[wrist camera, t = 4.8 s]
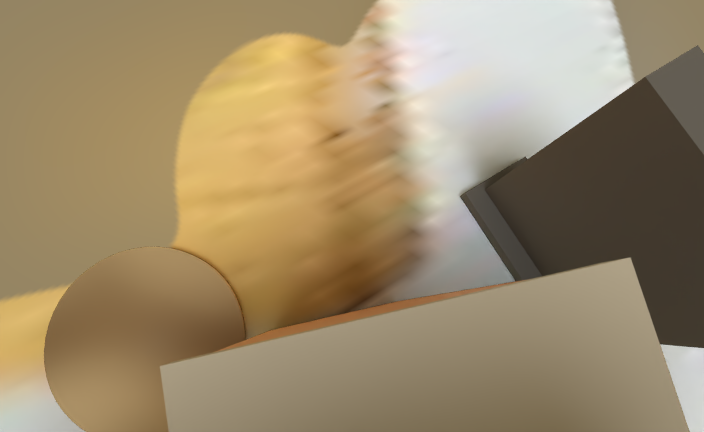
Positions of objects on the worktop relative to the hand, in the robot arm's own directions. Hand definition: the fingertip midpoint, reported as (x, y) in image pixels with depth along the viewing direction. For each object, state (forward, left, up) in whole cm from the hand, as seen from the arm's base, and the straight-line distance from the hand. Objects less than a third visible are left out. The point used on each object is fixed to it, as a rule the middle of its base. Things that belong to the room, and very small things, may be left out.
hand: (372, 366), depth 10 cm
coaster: (+2, +7, -8) cm, 11 cm away
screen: (+2, -9, -8) cm, 12 cm away
